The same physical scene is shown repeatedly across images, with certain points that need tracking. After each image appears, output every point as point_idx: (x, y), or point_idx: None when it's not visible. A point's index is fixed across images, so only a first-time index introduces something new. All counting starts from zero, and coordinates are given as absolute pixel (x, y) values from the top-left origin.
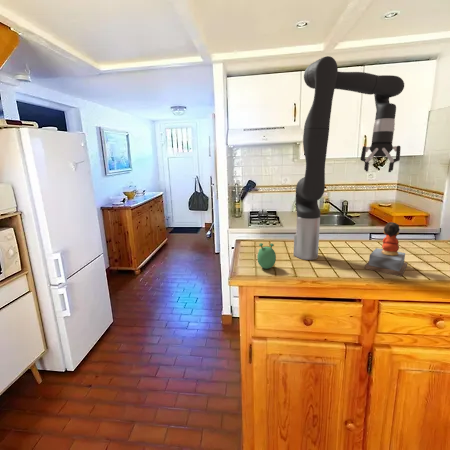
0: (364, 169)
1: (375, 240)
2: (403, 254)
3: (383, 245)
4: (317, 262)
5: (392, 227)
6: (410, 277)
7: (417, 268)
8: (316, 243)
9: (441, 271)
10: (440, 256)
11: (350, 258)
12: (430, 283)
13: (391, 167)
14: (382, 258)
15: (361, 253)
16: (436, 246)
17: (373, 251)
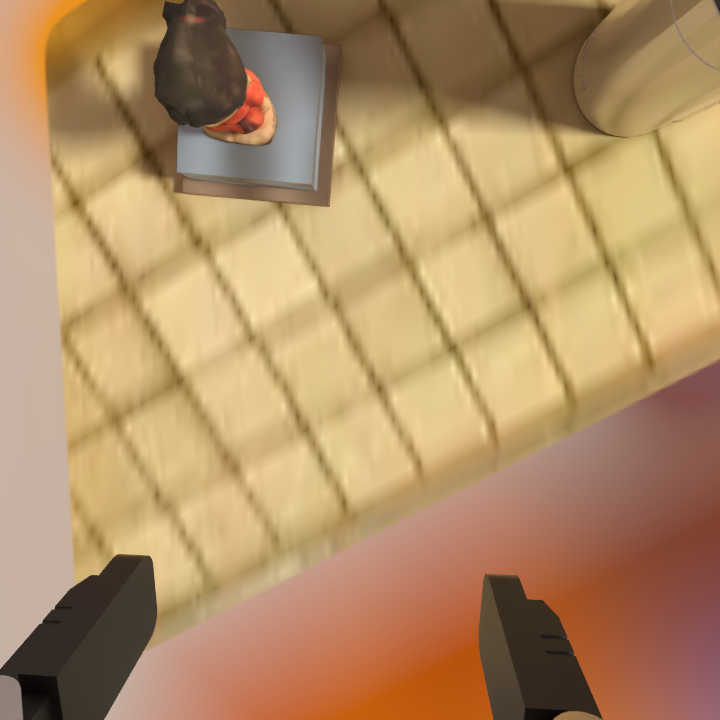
0: (547, 606)
1: (360, 531)
2: (181, 140)
3: (258, 81)
4: (557, 11)
5: (181, 4)
6: None
7: (148, 181)
8: (615, 17)
9: (65, 194)
10: (82, 406)
11: (423, 164)
12: (90, 15)
13: (71, 615)
14: (261, 33)
15: (389, 273)
16: (106, 556)
17: (313, 114)
